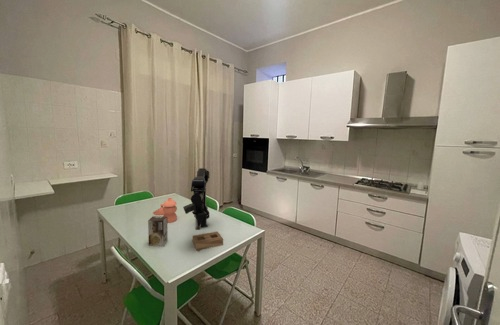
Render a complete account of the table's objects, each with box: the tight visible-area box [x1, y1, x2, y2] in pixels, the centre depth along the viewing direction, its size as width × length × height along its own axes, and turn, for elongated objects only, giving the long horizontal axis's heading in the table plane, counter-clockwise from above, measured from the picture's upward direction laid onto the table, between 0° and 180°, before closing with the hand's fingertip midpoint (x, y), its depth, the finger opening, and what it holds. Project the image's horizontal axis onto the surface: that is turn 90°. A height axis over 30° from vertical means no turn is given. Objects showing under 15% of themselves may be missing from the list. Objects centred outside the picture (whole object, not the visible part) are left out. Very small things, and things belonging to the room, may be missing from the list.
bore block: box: [191, 231, 224, 251], centre depth 124 cm, size 11×16×4 cm
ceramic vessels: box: [152, 197, 178, 224], centre depth 162 cm, size 35×21×19 cm, turn 40°
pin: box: [194, 218, 202, 231], centre depth 121 cm, size 3×3×9 cm
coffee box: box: [147, 215, 169, 247], centre depth 120 cm, size 9×6×16 cm
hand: (198, 224), depth 121 cm, fingers closed on pin, 3 cm apart
